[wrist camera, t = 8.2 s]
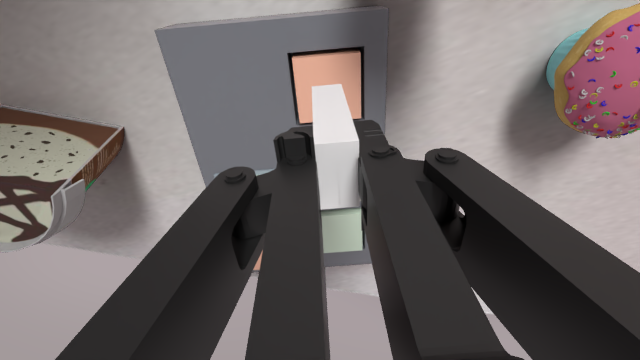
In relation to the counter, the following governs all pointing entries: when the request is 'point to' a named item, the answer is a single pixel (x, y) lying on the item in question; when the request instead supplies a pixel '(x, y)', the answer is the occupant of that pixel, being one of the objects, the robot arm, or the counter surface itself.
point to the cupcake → (600, 76)
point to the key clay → (327, 77)
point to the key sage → (341, 230)
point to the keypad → (265, 85)
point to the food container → (47, 171)
